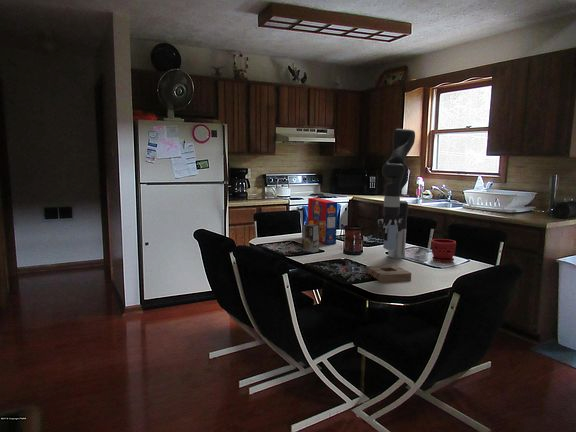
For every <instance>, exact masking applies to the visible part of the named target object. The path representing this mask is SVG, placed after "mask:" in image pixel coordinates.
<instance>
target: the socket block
mask: <svg viewBox="0 0 576 432" xmlns="http://www.w3.org/2000/svg"><path fill="white" fill-rule="evenodd" d="M366 272H367V273H368V274H367V273H366ZM365 273H366V274H367V275H369V274H370V275H371V276H370V275H369V276H370V277H372V276H373V277H374V279H375V278H376V279H377V281H378V282H380V283H389V282H401V281H411V280H412V272H410V271H408V270H407V269H405V268H403V267H401V266H399V265H397V264H394V263H393V264H378V265H366V266H365ZM373 277H372V278H373ZM376 279H375V280H376Z"/></svg>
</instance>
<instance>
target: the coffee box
mask: <svg viewBox="0 0 576 432" xmlns="http://www.w3.org/2000/svg"><path fill="white" fill-rule="evenodd" d="M301 251H303V252H308V253H317V252H319V251H320V242H319V225H313V224H308V223H306V224H302V225H301Z"/></svg>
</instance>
